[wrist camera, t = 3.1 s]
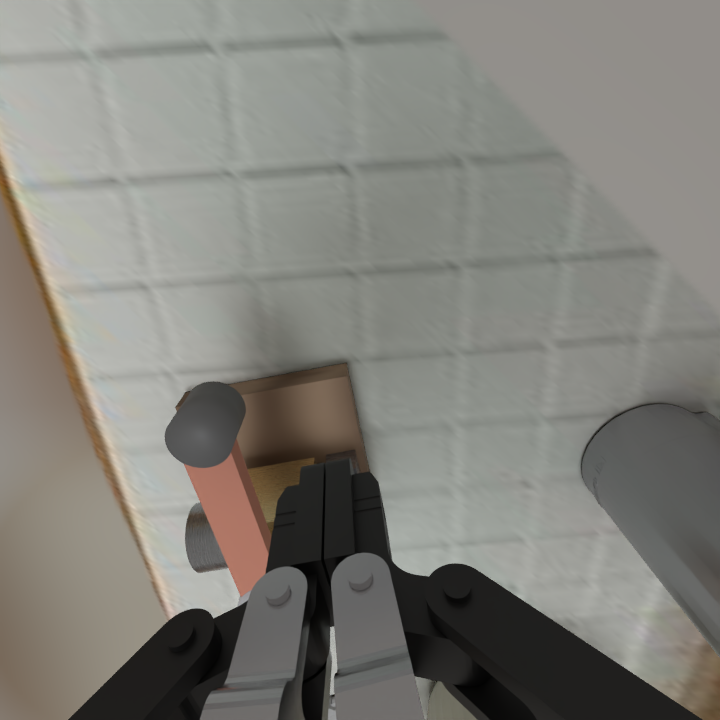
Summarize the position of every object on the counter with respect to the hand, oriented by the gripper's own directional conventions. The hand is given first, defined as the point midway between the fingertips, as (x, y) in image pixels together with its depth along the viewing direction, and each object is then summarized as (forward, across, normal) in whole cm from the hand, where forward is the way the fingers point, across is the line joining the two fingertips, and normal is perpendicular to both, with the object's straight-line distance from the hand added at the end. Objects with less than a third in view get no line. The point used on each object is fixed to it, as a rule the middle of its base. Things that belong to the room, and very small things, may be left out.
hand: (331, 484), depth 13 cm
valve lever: (+7, +5, +5) cm, 10 cm away
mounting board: (+16, +5, +10) cm, 19 cm away
